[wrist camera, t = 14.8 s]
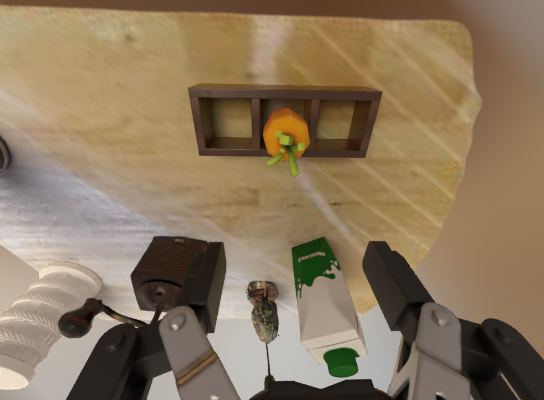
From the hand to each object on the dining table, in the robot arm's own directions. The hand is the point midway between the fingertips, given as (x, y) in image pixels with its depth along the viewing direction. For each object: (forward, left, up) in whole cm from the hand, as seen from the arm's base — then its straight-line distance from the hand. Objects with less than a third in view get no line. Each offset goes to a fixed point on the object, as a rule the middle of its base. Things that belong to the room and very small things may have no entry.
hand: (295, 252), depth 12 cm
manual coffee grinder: (+2, -33, -24) cm, 41 cm away
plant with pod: (+24, -28, -24) cm, 44 cm away
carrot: (-1, +2, -24) cm, 24 cm away
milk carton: (+23, -12, -24) cm, 35 cm away
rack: (-1, +2, -24) cm, 24 cm away
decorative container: (-9, -55, -24) cm, 61 cm away
